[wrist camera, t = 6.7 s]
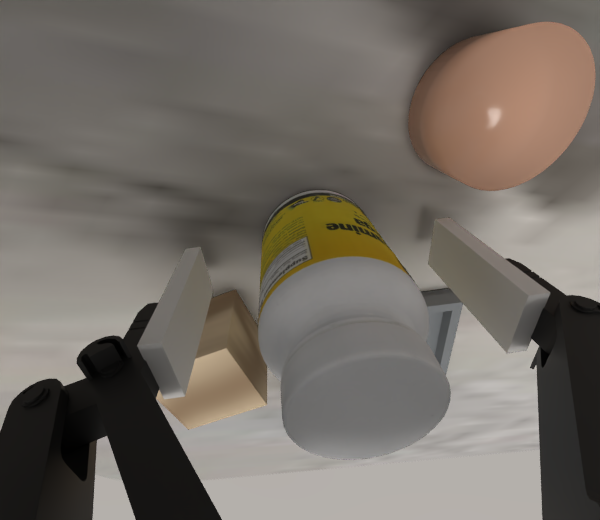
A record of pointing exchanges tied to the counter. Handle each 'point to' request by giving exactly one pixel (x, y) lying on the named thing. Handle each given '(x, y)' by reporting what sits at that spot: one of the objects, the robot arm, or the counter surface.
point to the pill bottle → (345, 332)
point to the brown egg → (503, 104)
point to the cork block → (223, 367)
